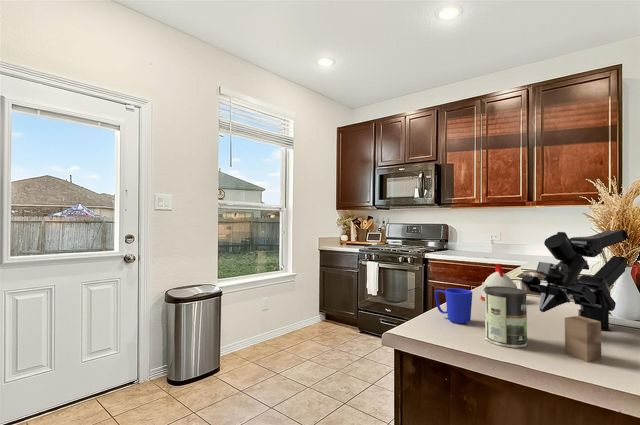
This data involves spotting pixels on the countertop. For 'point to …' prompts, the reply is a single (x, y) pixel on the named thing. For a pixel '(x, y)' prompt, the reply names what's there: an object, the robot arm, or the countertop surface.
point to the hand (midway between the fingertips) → (541, 311)
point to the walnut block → (583, 338)
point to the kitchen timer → (496, 280)
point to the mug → (457, 304)
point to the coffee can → (506, 316)
